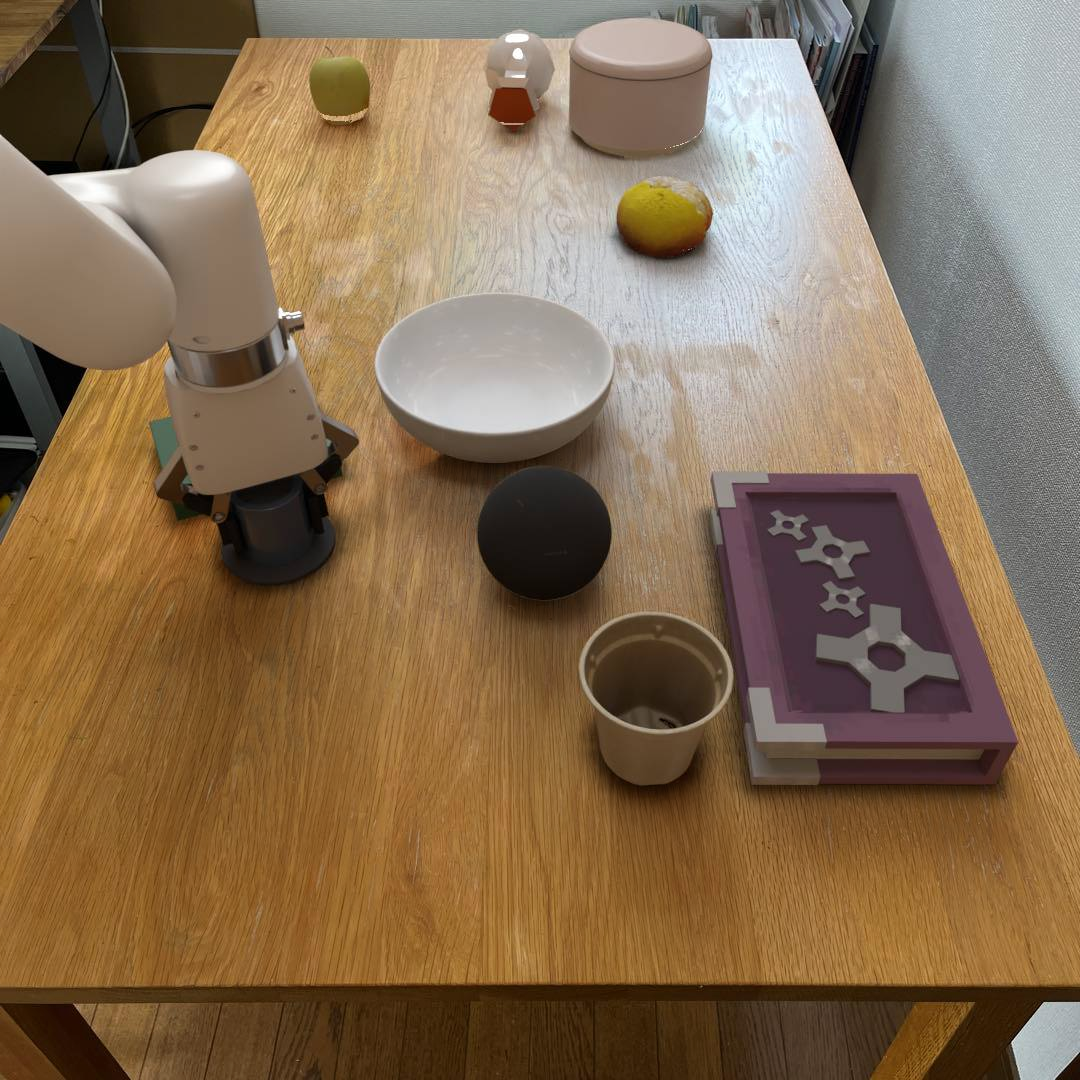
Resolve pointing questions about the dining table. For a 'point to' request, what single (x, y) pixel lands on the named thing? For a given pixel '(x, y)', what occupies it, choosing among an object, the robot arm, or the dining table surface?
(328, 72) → the apple
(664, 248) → the fruit
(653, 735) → the flower pot
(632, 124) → the container
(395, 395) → the serving bowl
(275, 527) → the tumbler
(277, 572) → the coaster
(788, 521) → the book
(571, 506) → the speaker
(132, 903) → the dining table surface
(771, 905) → the dining table surface
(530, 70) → the potion bottle
